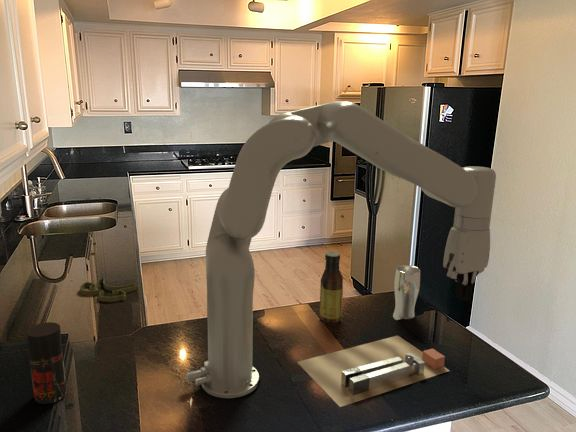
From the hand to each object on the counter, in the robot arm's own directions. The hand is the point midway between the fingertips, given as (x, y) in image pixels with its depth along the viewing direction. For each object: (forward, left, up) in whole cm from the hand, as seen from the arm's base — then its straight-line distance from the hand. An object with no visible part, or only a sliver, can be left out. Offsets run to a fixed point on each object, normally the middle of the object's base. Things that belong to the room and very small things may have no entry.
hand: (462, 298), depth 109 cm
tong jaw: (-24, +2, -15) cm, 28 cm away
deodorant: (-87, +26, -17) cm, 92 cm away
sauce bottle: (-16, +31, -17) cm, 39 cm away
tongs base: (-22, 0, -15) cm, 26 cm away
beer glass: (+4, +23, -17) cm, 29 cm away
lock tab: (-7, 0, -15) cm, 17 cm away
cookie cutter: (-70, +76, -17) cm, 105 cm away
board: (-21, +5, -17) cm, 27 cm away
